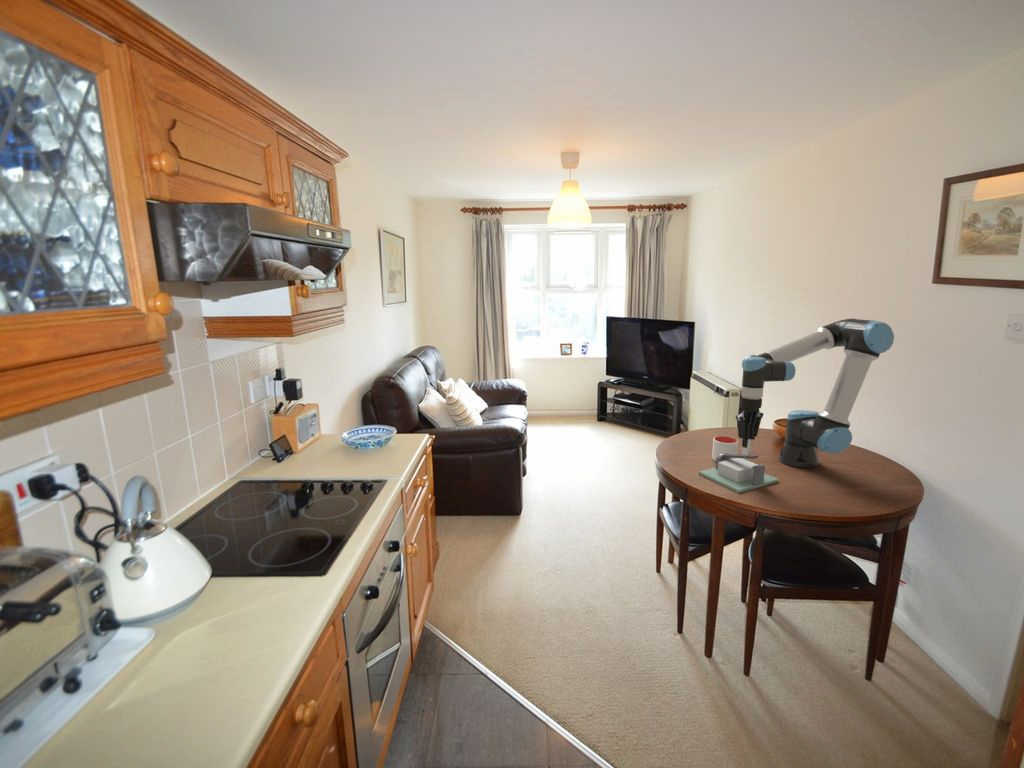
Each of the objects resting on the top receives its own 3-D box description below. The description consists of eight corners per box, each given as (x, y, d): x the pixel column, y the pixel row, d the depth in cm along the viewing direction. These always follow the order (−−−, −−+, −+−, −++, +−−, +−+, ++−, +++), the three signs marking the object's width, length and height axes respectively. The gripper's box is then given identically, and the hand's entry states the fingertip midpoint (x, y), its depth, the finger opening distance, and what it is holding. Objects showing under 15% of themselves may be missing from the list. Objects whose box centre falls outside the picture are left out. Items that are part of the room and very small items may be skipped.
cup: (737, 466, 210) (739, 444, 208) (712, 463, 213) (714, 442, 211) (734, 457, 219) (736, 436, 217) (711, 455, 222) (712, 435, 220)
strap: (726, 456, 205) (725, 453, 205) (759, 457, 190) (759, 454, 190) (718, 457, 203) (717, 455, 203) (751, 459, 188) (751, 456, 188)
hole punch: (736, 464, 211) (738, 446, 209) (778, 481, 194) (780, 461, 192) (698, 474, 202) (700, 455, 201) (738, 493, 185) (740, 472, 183)
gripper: (755, 393, 193) (749, 449, 198) (731, 396, 188) (726, 454, 193) (771, 397, 187) (765, 454, 192) (747, 401, 181) (742, 460, 186)
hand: (745, 454), depth 192 cm, fingers closed
